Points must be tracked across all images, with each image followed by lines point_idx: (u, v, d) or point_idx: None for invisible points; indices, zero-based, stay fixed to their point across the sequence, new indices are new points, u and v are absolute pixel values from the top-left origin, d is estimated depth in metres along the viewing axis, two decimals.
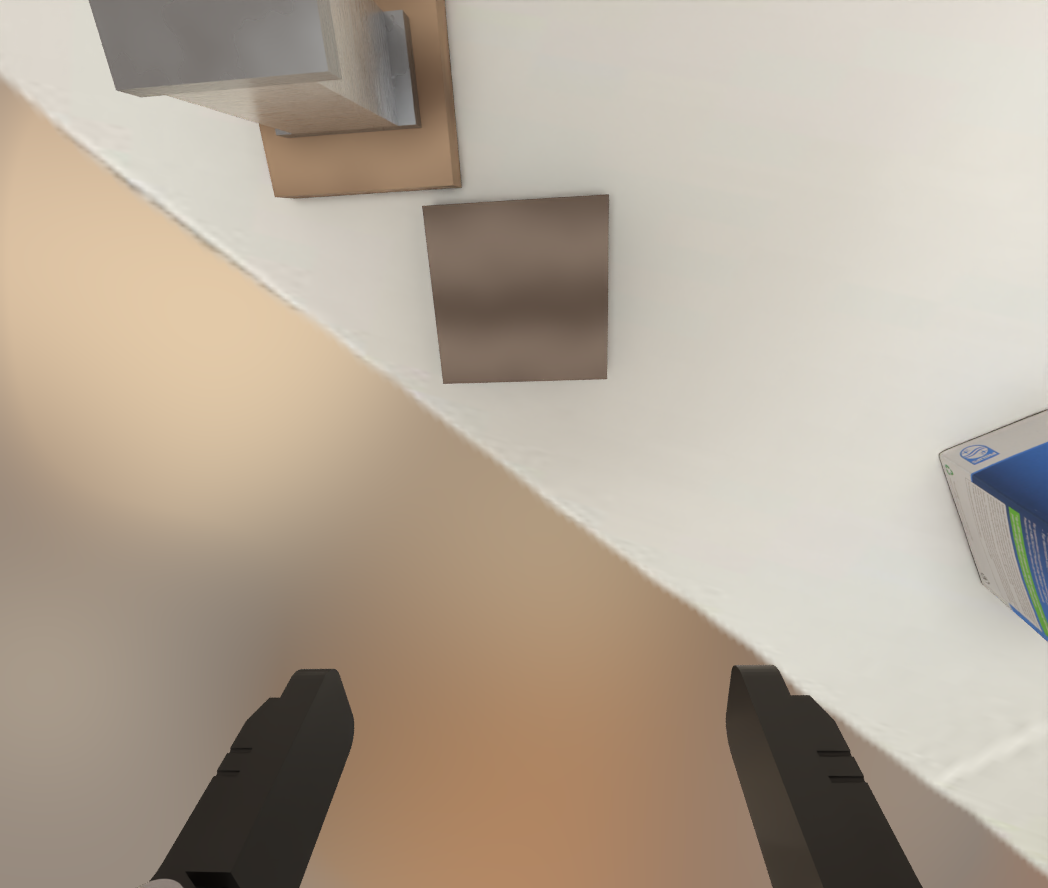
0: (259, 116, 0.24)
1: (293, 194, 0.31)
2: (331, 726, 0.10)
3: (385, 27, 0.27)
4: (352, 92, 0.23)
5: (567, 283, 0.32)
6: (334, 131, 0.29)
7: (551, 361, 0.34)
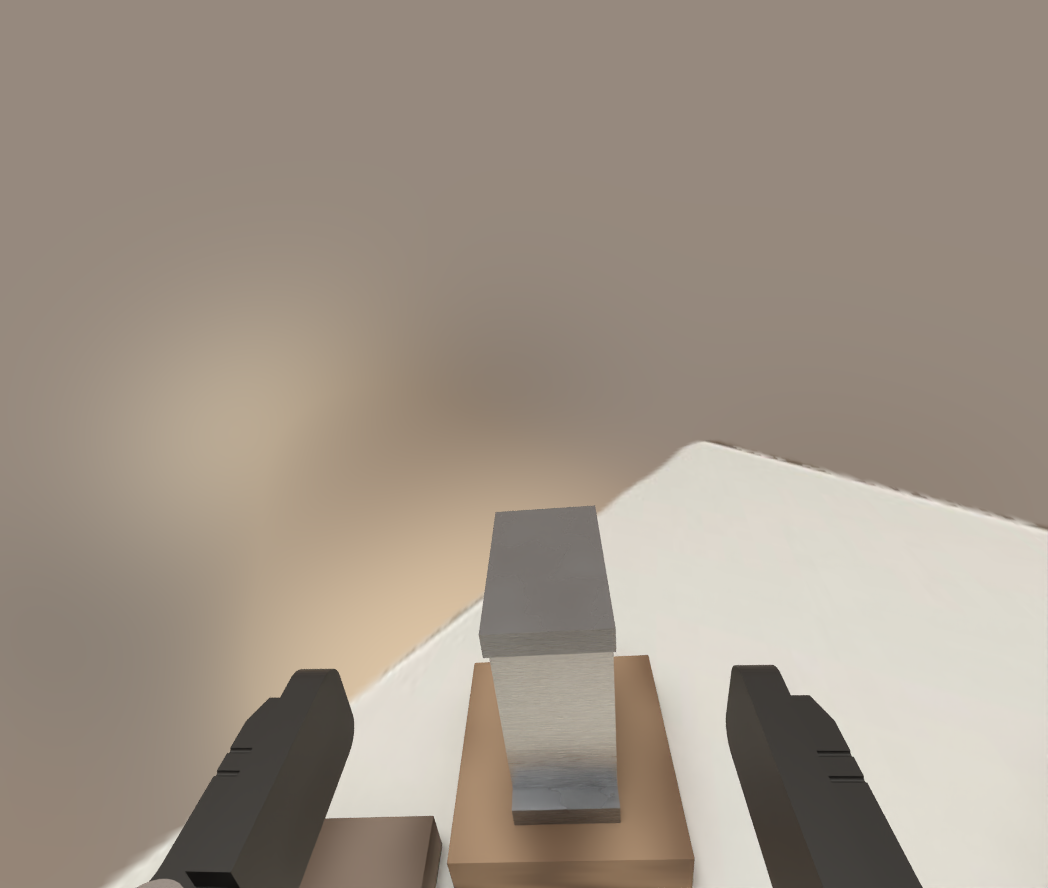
0: None
1: (473, 678, 0.32)
2: (331, 726, 0.10)
3: (603, 785, 0.25)
4: (505, 700, 0.22)
5: None
6: None
7: None
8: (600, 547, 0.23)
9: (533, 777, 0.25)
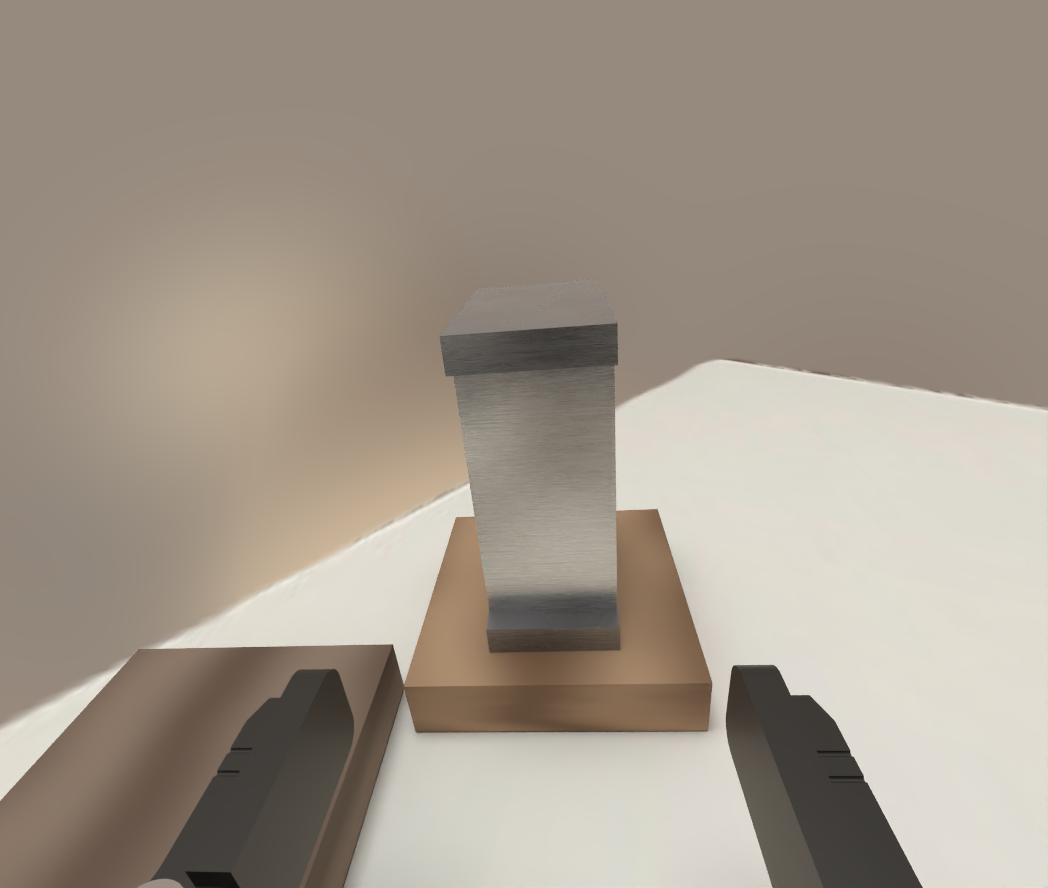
0: None
1: (453, 530, 0.28)
2: (331, 726, 0.10)
3: (599, 607, 0.20)
4: (478, 471, 0.18)
5: None
6: None
7: None
8: (601, 293, 0.19)
9: (514, 593, 0.20)
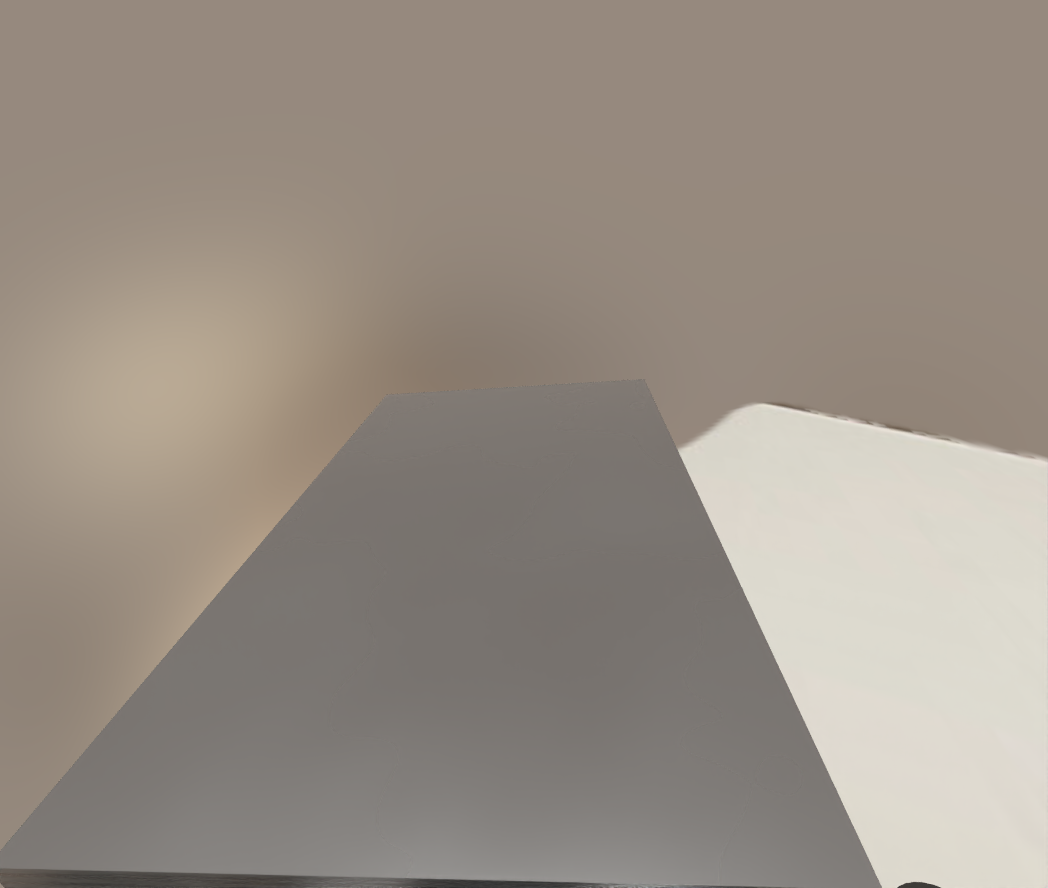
0: None
1: None
2: None
3: None
4: None
5: None
6: None
7: None
8: (677, 460, 0.07)
9: None
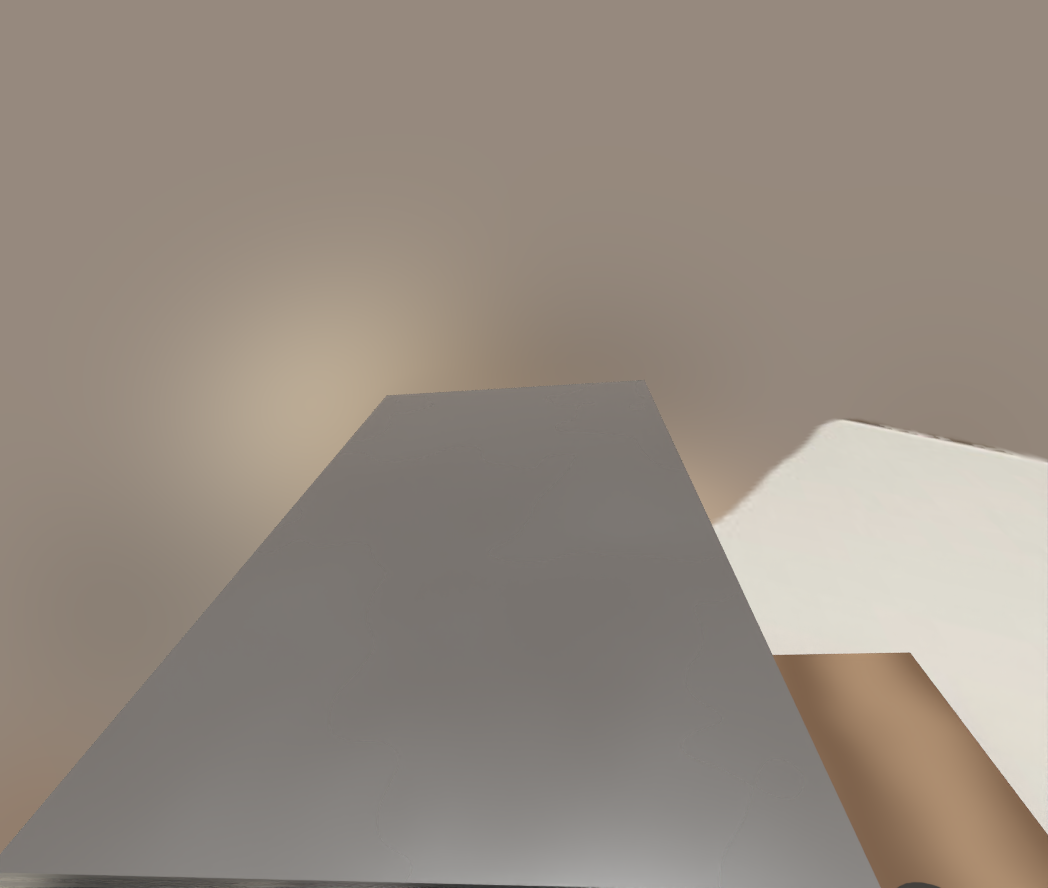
0: None
1: None
2: None
3: None
4: None
5: None
6: None
7: None
8: (677, 462, 0.07)
9: None
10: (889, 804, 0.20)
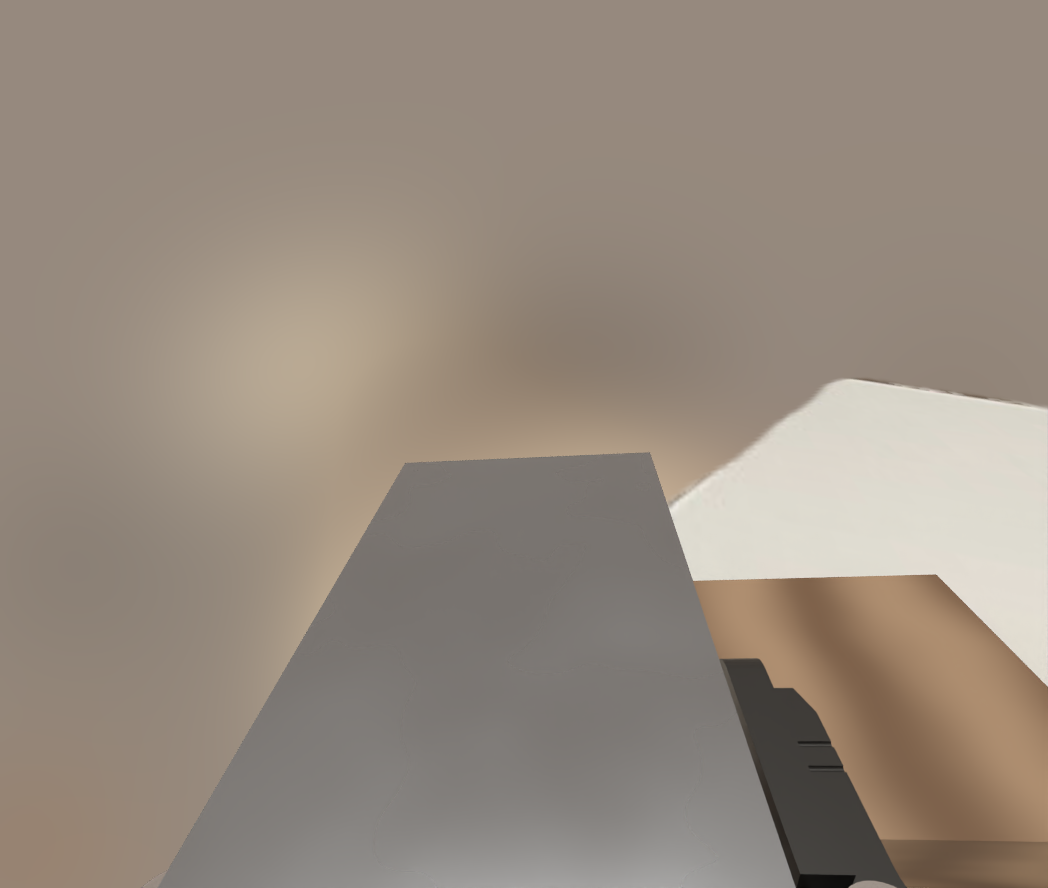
0: None
1: None
2: None
3: None
4: None
5: None
6: None
7: None
8: (680, 558, 0.07)
9: None
10: (922, 718, 0.18)
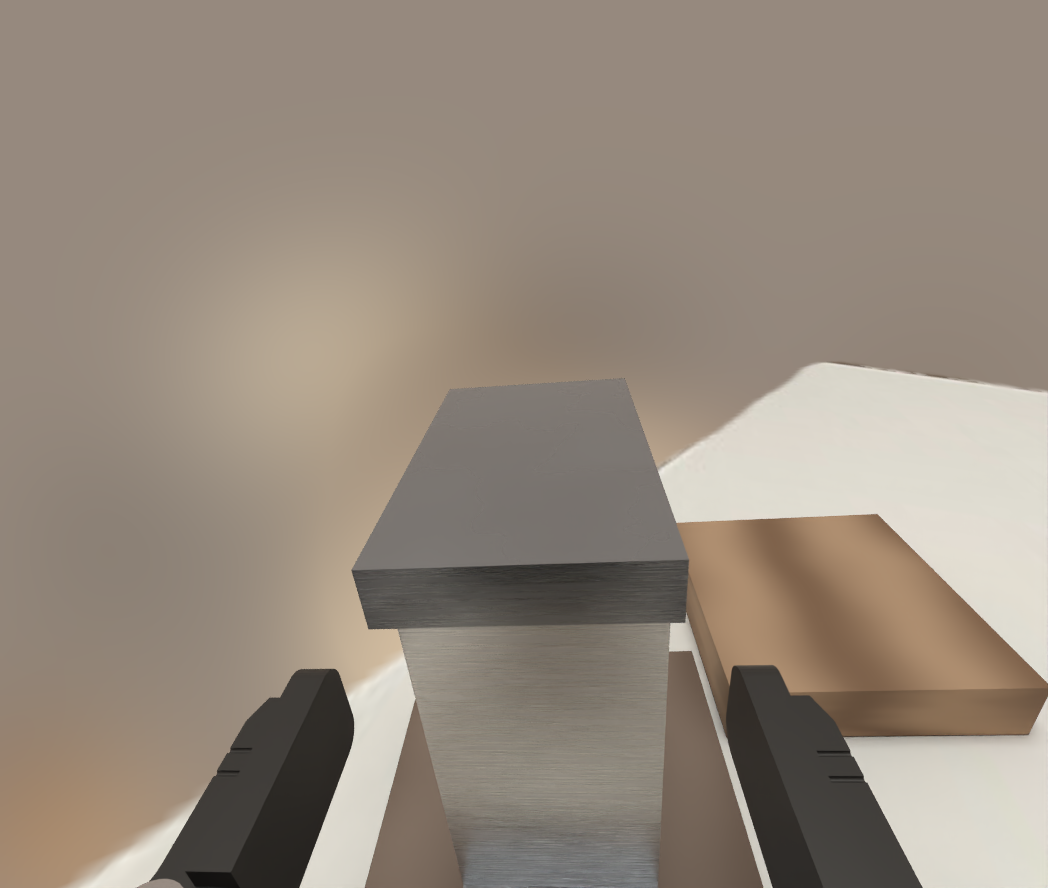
0: None
1: None
2: (331, 726, 0.10)
3: None
4: (439, 726, 0.11)
5: None
6: None
7: (415, 857, 0.15)
8: (638, 426, 0.12)
9: (500, 868, 0.13)
10: (852, 614, 0.22)
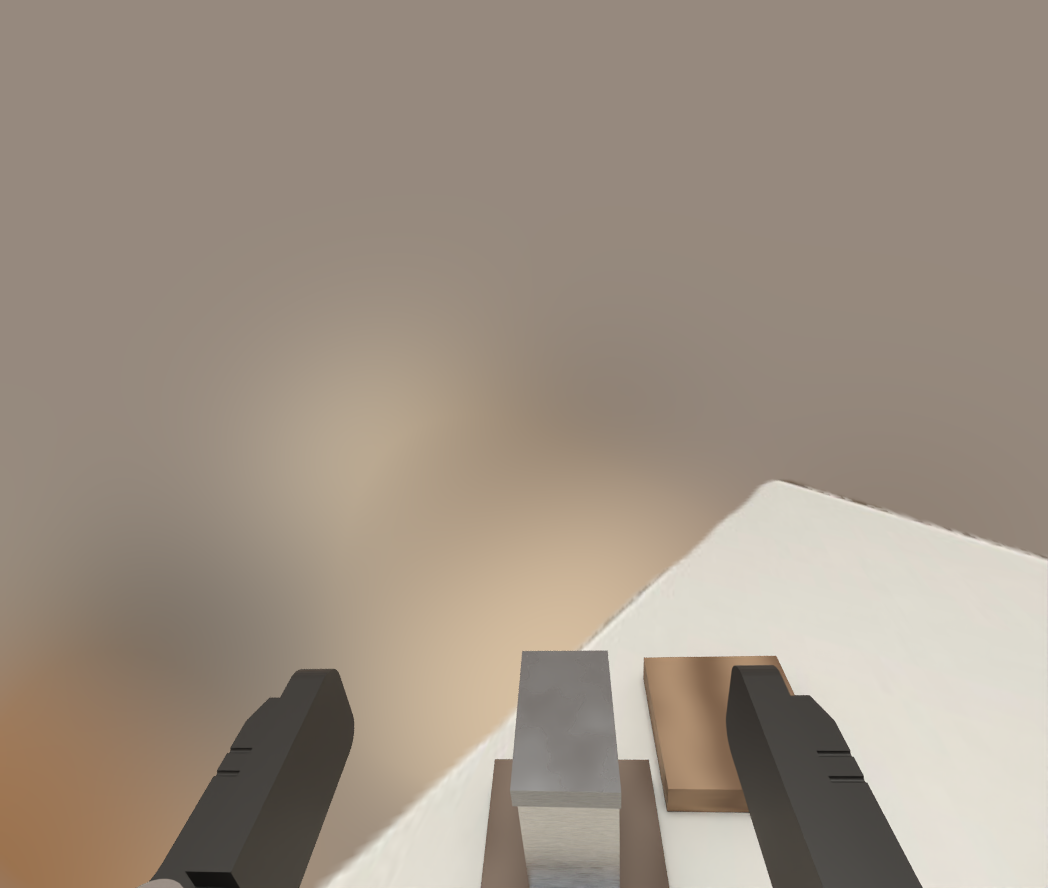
0: None
1: (646, 669, 0.44)
2: (331, 726, 0.10)
3: None
4: (528, 829, 0.27)
5: None
6: None
7: (503, 879, 0.31)
8: (611, 700, 0.27)
9: (548, 886, 0.29)
10: None
